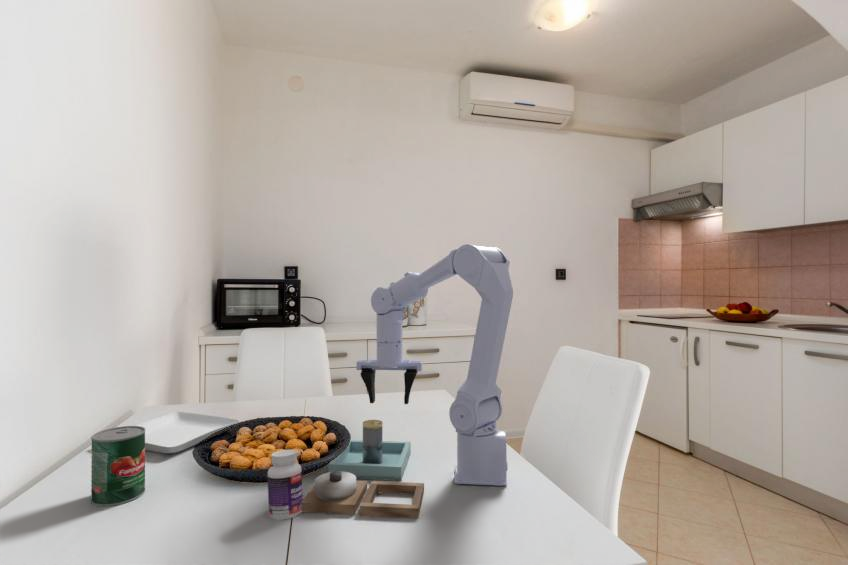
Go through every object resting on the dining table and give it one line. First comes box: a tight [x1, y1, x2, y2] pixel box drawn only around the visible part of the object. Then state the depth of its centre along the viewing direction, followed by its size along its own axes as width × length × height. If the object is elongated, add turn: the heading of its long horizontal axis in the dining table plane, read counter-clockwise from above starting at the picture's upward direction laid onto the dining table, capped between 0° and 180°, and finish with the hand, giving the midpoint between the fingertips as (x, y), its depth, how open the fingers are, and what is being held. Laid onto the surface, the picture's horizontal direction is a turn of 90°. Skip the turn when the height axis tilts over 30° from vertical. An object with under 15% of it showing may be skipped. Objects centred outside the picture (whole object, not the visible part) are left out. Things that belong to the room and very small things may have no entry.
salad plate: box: [133, 411, 240, 454], centre depth 111 cm, size 21×21×3 cm
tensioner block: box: [302, 471, 425, 519], centre depth 79 cm, size 19×9×4 cm, turn 85°
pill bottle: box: [267, 449, 304, 520], centre depth 76 cm, size 5×5×10 cm
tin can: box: [362, 419, 383, 464], centre depth 95 cm, size 4×4×8 cm
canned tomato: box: [90, 425, 146, 508], centre depth 81 cm, size 8×8×11 cm
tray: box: [328, 439, 412, 481], centre depth 95 cm, size 14×14×2 cm
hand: (389, 402), depth 104 cm, fingers open, 7 cm apart
